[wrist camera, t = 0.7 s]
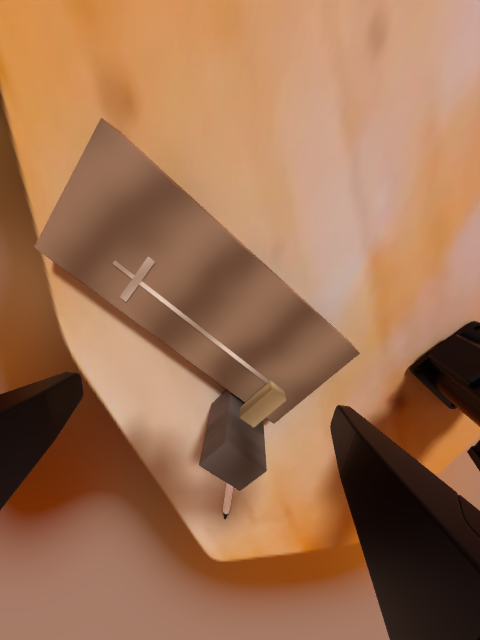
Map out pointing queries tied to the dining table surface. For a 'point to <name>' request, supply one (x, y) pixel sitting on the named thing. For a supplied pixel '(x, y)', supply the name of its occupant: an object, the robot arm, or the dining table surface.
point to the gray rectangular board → (186, 276)
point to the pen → (227, 500)
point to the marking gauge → (239, 435)
